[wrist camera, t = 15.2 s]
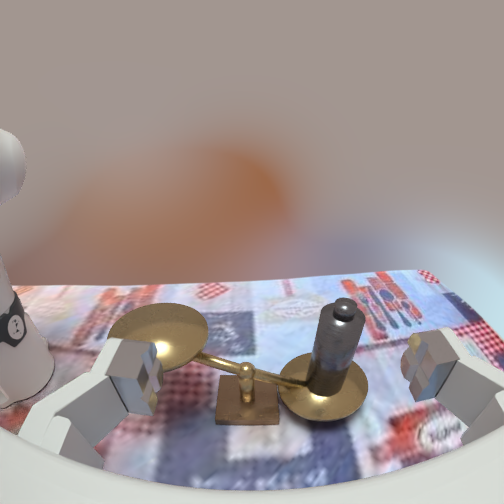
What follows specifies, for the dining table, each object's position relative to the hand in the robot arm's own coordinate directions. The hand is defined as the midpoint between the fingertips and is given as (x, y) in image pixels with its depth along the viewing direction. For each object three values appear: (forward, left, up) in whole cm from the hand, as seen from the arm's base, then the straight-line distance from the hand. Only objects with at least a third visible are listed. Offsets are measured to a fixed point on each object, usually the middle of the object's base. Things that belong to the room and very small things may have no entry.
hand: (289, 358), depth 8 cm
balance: (-2, +18, -27) cm, 32 cm away
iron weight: (+8, +18, -23) cm, 30 cm away
